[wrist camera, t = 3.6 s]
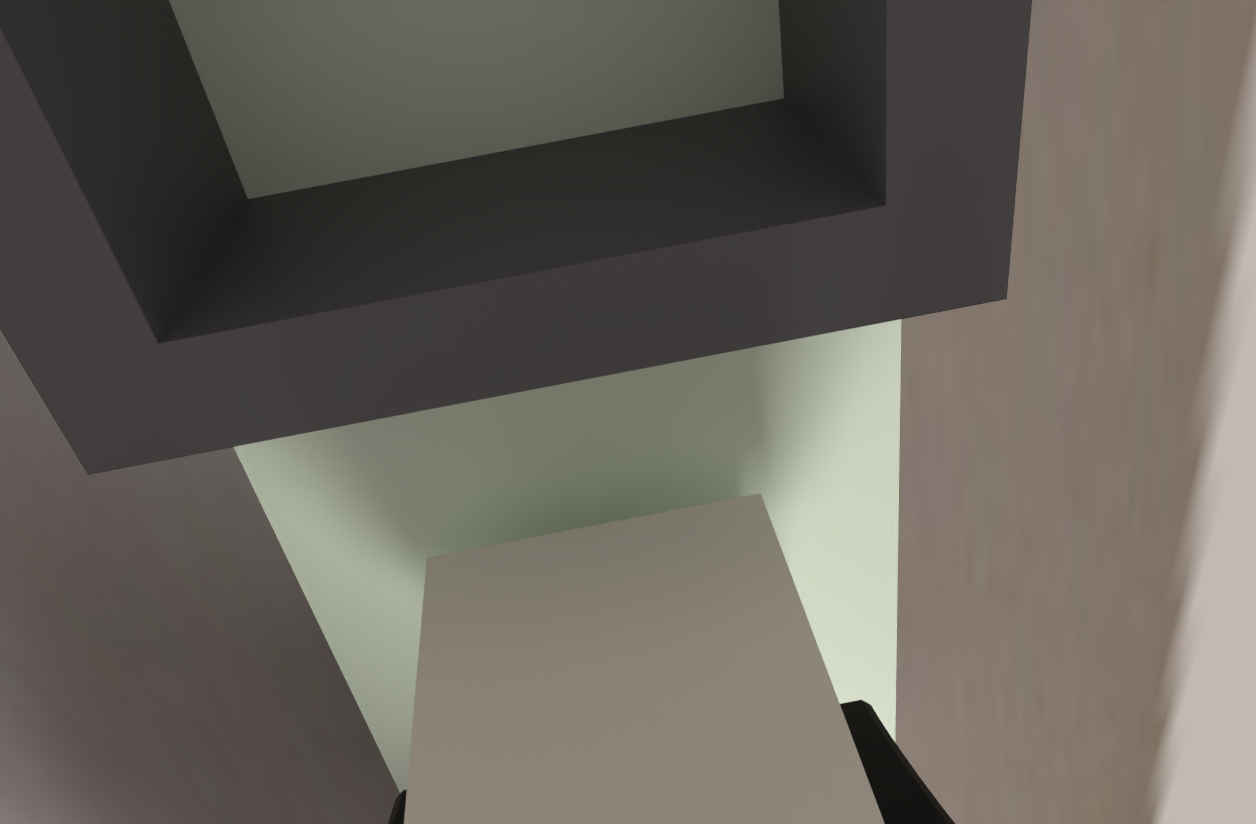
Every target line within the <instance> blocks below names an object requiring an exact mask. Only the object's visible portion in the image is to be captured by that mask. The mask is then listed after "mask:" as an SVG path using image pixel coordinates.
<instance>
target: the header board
mask: <svg viewBox="0 0 1256 824" xmlns="http://www.w3.org/2000/svg"><path fill="white" fill-rule="evenodd" d="M1031 5H1032V0H0V329H1V331H2V333H3V334H4V336H5V338H6V339H7V341H8V343H9V344H10V346H11V348H12V349H13V351H14V353H15V354H16V356H17V358H18V359H19V361H20V363H21V364H22V366H23V368H24V369H25V371H26V373H27V374H28V376H29V378H30V379H31V381H32V383H33V384H34V386H35V387H36V389H37V391H38V392H39V394H40V396H41V397H42V399H43V401H44V402H45V404H46V406H47V407H48V409H49V411H50V412H51V414H52V416H53V417H54V419H55V421H56V422H57V424H58V426H59V427H60V429H61V431H62V432H63V434H64V436H65V437H66V439H67V441H68V442H69V444H70V446H71V447H72V449H73V451H74V452H75V454H76V455H77V457H78V459H79V460H80V462H81V464H82V465H83V467H84V469H85V470H86V472H87V474H88V475H89V474H94V473H100V472H105V471H110V470H115V469H121V468H126V467H131V466H136V465H141V464H147V463H152V462H157V461H162V460H168V459H173V458H178V457H183V456H188V455H194V454H199V453H204V452H209V451H215V450H220V449H225V448H230V447H234V449H235V451H236V453H237V455H238V458H239V460H240V462H241V464H242V466H243V468H244V470H245V472H246V474H247V476H248V478H249V480H250V482H251V485H252V487H253V489H254V491H255V493H256V495H257V497H258V499H259V501H260V503H261V505H262V507H263V509H264V511H265V514H266V516H267V518H268V520H269V522H270V524H271V526H272V528H273V530H274V532H275V534H276V536H277V538H278V541H279V543H280V545H281V547H282V549H283V551H284V553H285V555H286V557H287V559H288V561H289V563H290V565H291V567H292V570H293V572H294V574H295V576H296V578H297V580H298V582H299V584H300V586H301V588H302V590H303V592H304V594H305V597H306V599H307V601H308V603H309V605H310V607H311V609H312V611H313V613H314V615H315V617H316V619H317V621H318V623H319V626H320V628H321V630H322V632H323V634H324V636H325V638H326V640H327V642H328V644H329V646H330V648H331V650H332V653H333V655H334V657H335V659H336V661H337V663H338V665H339V667H340V669H341V671H342V673H343V675H344V677H345V679H346V682H347V684H348V686H349V688H350V690H351V692H352V694H353V696H354V698H355V700H356V702H357V704H358V706H359V709H360V711H361V713H362V715H363V717H364V719H365V721H366V723H367V725H368V727H369V729H370V731H371V733H372V735H373V738H374V740H375V742H376V744H377V746H378V748H379V750H380V752H381V754H382V756H383V758H384V760H385V762H386V765H387V767H388V769H389V771H390V773H391V775H392V777H393V779H394V781H395V783H396V785H397V787H398V789H399V791H400V793H401V792H402V791H403V790H406V789H407V782H408V770H409V759H410V747H411V736H412V724H413V712H414V701H415V689H416V678H417V666H418V655H419V643H420V631H421V620H422V608H423V597H424V585H425V573H426V562H427V557H433V556H438V555H443V554H448V553H453V552H459V551H464V550H469V549H474V548H479V547H485V546H490V545H495V544H500V543H505V542H511V541H516V540H521V539H526V538H531V537H537V536H542V535H547V534H552V533H557V532H562V531H568V530H573V529H578V528H583V527H588V526H594V525H599V524H604V523H609V522H614V521H620V520H625V519H630V518H635V517H640V516H646V515H651V514H656V513H661V512H666V511H672V510H677V509H682V508H687V507H692V506H698V505H703V504H708V503H713V502H718V501H724V500H729V499H734V498H739V497H744V496H750V495H755V494H760V493H761V496H762V498H763V501H764V504H765V506H766V509H767V512H768V514H769V517H770V520H771V522H772V525H773V528H774V530H775V533H776V536H777V538H778V541H779V544H780V546H781V549H782V552H783V554H784V557H785V560H786V562H787V565H788V568H789V570H790V573H791V576H792V578H793V581H794V584H795V586H796V589H797V592H798V594H799V597H800V600H801V602H802V605H803V608H804V610H805V613H806V615H807V618H808V621H809V623H810V626H811V629H812V631H813V634H814V637H815V639H816V642H817V645H818V647H819V650H820V653H821V655H822V658H823V661H824V663H825V666H826V669H827V671H828V674H829V677H830V679H831V682H832V685H833V687H834V690H835V693H836V695H837V698H838V701H839V703H840V704H842V703H847V702H852V701H857V700H863V701H865V702H867V703H869V704H871V706H872V707H873V709H874V711H875V712H876V714H877V716H878V717H879V719H880V720H881V722H882V723H883V725H884V727H885V728H886V730H887V731H888V733H889V734H890V736H891V737H892V739H893V740H894V742H895V718H896V649H897V580H898V511H899V442H900V373H901V319H905V318H910V317H915V316H920V315H925V314H931V313H936V312H941V311H946V310H952V309H957V308H962V307H967V306H972V305H978V304H983V303H988V302H993V301H999V300H1004V299H1007V288H1008V276H1009V264H1010V252H1011V241H1012V229H1013V217H1014V205H1015V194H1016V182H1017V170H1018V158H1019V147H1020V135H1021V123H1022V111H1023V100H1024V88H1025V76H1026V64H1027V52H1028V41H1029V29H1030V17H1031Z"/></svg>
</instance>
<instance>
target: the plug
mask: <svg viewBox="0 0 1256 824" xmlns="http://www.w3.org/2000/svg"><path fill="white" fill-rule="evenodd" d="M404 824H885V823H884V821H883V818H882V815H881V813H880V810H879V807H878V805H877V802H876V799H875V797H874V794H873V791H872V789H871V786H870V783H869V781H868V778H867V775H866V773H865V770H864V767H863V765H862V762H861V759H860V757H859V754H858V751H857V749H856V746H855V743H854V741H853V738H852V735H851V733H850V730H849V727H848V725H847V722H846V719H845V717H844V714H843V711H842V709H841V706H840V703H839V701H838V698H837V695H836V693H835V690H834V687H833V685H832V682H831V679H830V677H829V674H828V671H827V669H826V666H825V663H824V661H823V658H822V655H821V653H820V650H819V647H818V645H817V642H816V639H815V637H814V634H813V631H812V629H811V626H810V623H809V621H808V618H807V615H806V613H805V610H804V608H803V605H802V602H801V600H800V597H799V594H798V592H797V589H796V586H795V584H794V581H793V578H792V576H791V573H790V570H789V568H788V565H787V562H786V560H785V557H784V554H783V552H782V549H781V546H780V544H779V541H778V538H777V536H776V533H775V530H774V528H773V525H772V522H771V520H770V517H769V514H768V512H767V509H766V506H765V504H764V501H763V498H762V496H761V493H760V494H755V495H750V496H744V497H739V498H734V499H729V500H724V501H718V502H713V503H708V504H703V505H698V506H692V507H687V508H682V509H677V510H672V511H666V512H661V513H656V514H651V515H646V516H640V517H635V518H630V519H625V520H620V521H614V522H609V523H604V524H599V525H594V526H588V527H583V528H578V529H573V530H568V531H562V532H557V533H552V534H547V535H542V536H537V537H531V538H526V539H521V540H516V541H511V542H505V543H500V544H495V545H490V546H485V547H479V548H474V549H469V550H464V551H459V552H453V553H448V554H443V555H438V556H433V557H427V562H426V573H425V585H424V597H423V608H422V620H421V631H420V643H419V655H418V666H417V678H416V689H415V701H414V712H413V724H412V736H411V747H410V759H409V770H408V782H407V793H406V805H405V817H404Z"/></svg>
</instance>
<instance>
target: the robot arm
mask: <svg viewBox="0 0 1256 824" xmlns="http://www.w3.org/2000/svg"><path fill="white" fill-rule="evenodd" d="M840 706H841V709H842V711H843V714H844V717H845V719H846V722H847V725H848V727H849V730H850V733H851V735H852V738H853V741H854V743H855V746H856V749H857V751H858V754H859V757H860V759H861V762H862V765H863V767H864V770H865V773H866V775H867V778H868V781H869V783H870V786H871V789H872V791H873V794H874V797H875V799H876V802H877V805H878V807H879V810H880V813H881V815H882V818H883V821H884V823H885V824H955V823H954V822H953V821H952V819H951V818H950V817H949V815H948V814H947V813H946V812H945V810H944V809H943V808H942V806H941V805H940V804H939V802H938V801H937V800H936V798H935V797H934V796H933V794H932V793H931V792H930V790H929V789H928V788H927V786H926V785H925V784H924V782H923V781H922V780H921V778H920V777H919V776H918V774H917V773H916V772H915V770H914V769H913V767H912V766H911V765H910V763H909V762H908V760H907V759H906V758H905V756H904V755H903V753H902V752H901V750H900V749H899V747H898V746H897V745H896V743H895V742H894V740H893V739H892V737H891V736H890V734H889V733H888V731H887V730H886V728H885V727H884V725H883V723H882V722H881V720H880V719H879V717H878V716H877V714H876V712H875V711H874V709H873V707H872V706H871V704H869V703H867V702H865V701H863V700H857V701H852V702H847V703H842V704H840ZM406 793H407V789H406V790H403V791H402V792H401V793H400V795H399V796H398V797H397V798H396V801H395V804H394V807H393V810H392V814H391V817H390V820H389V823H388V824H404V817H405V805H406Z"/></svg>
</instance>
